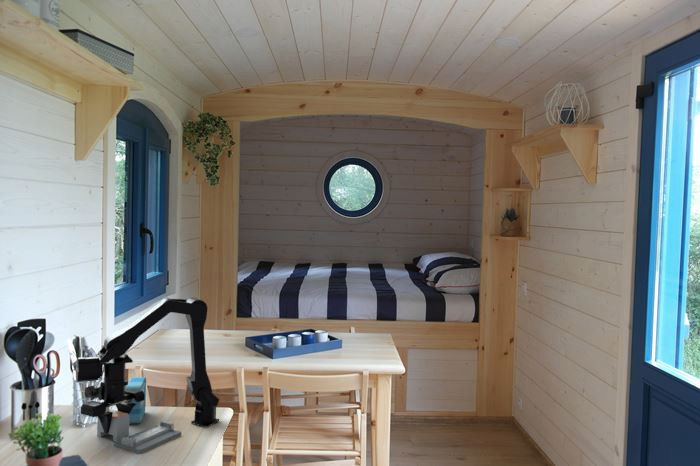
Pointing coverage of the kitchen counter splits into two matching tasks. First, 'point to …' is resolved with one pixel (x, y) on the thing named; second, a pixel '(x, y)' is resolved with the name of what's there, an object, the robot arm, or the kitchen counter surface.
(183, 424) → the kitchen counter surface
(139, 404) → the blue block
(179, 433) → the rail mount
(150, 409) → the kitchen counter surface
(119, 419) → the rail module
